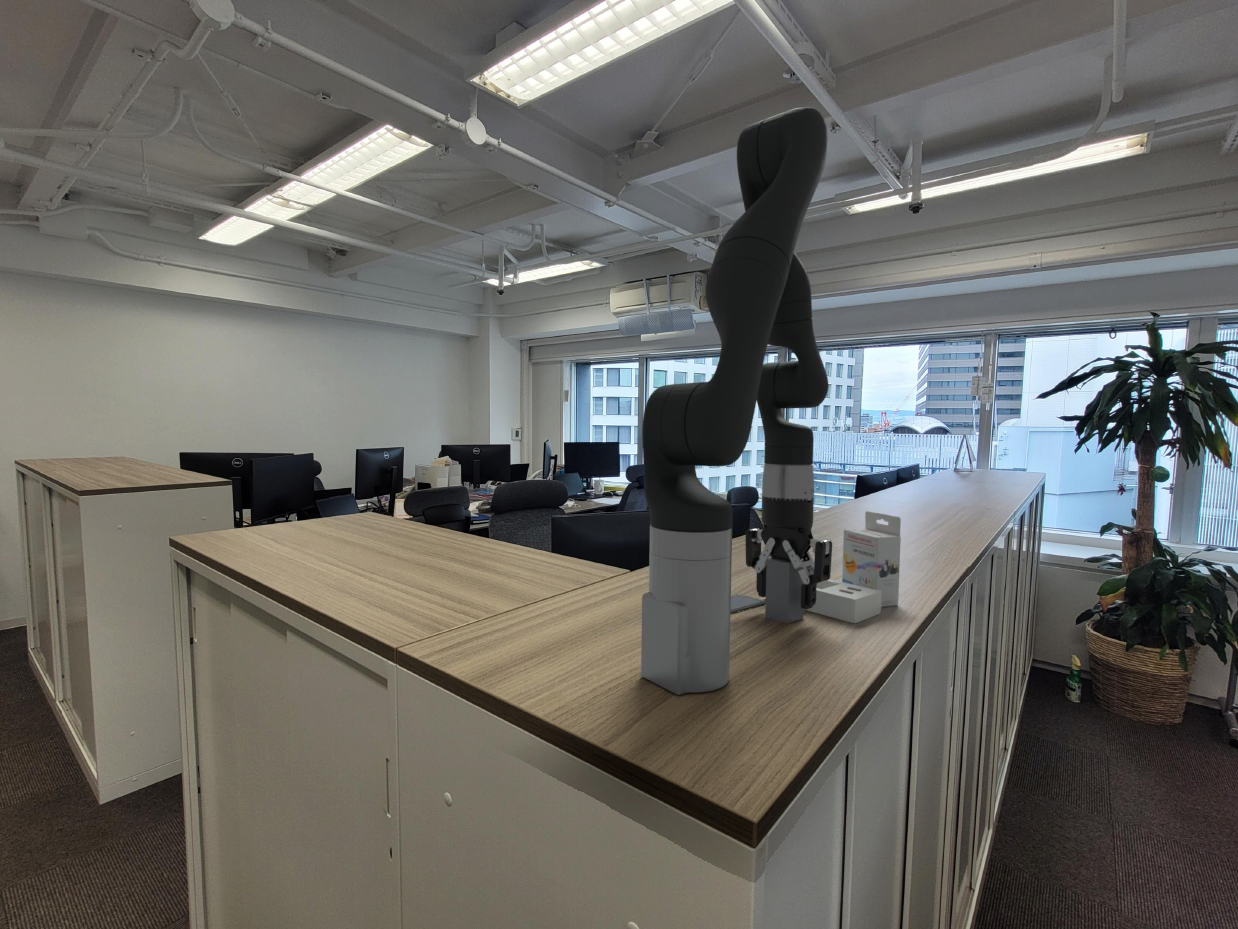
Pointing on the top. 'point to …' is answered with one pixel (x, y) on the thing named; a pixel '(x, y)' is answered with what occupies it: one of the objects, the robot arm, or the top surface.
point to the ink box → (874, 556)
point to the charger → (783, 591)
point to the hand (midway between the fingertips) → (785, 601)
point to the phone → (744, 603)
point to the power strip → (846, 601)
